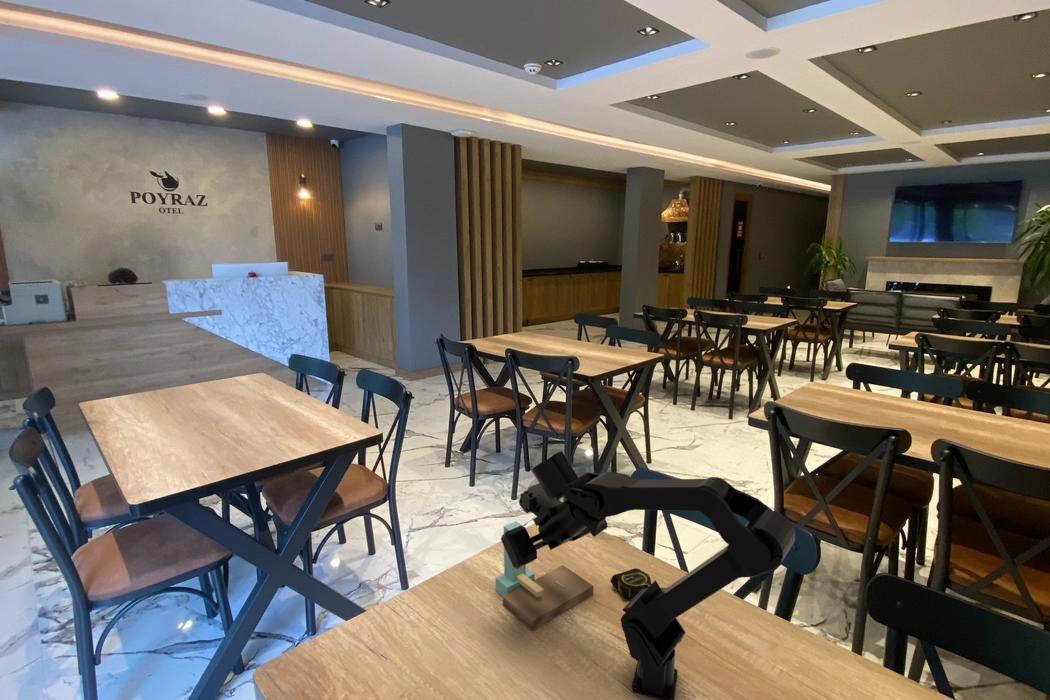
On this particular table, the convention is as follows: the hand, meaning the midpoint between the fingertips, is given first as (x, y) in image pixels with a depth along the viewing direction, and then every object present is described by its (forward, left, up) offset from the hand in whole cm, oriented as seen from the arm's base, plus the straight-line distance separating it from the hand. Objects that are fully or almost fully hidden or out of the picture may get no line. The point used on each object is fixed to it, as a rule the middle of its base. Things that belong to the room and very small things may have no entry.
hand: (529, 547), depth 103 cm
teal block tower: (+1, +1, -12) cm, 12 cm away
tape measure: (+10, -18, -12) cm, 24 cm away
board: (+1, -3, -12) cm, 12 cm away
